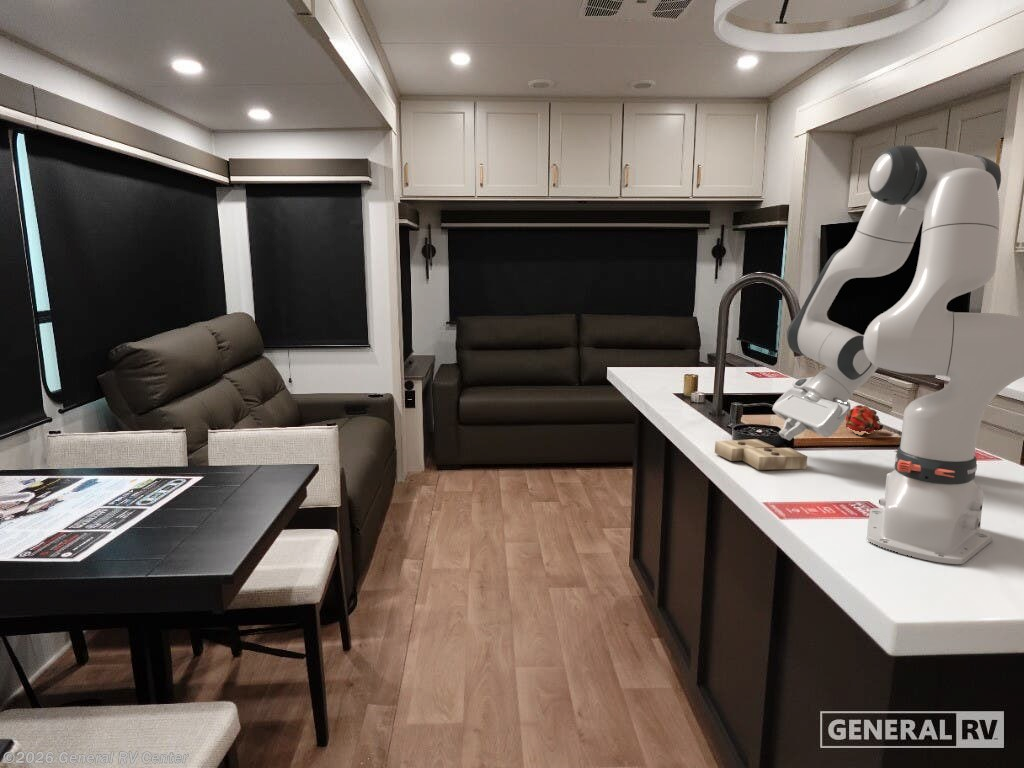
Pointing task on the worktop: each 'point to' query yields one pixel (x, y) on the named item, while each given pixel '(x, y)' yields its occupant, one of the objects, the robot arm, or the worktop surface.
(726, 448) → the tile one
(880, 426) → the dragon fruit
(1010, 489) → the worktop surface
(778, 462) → the tile two
